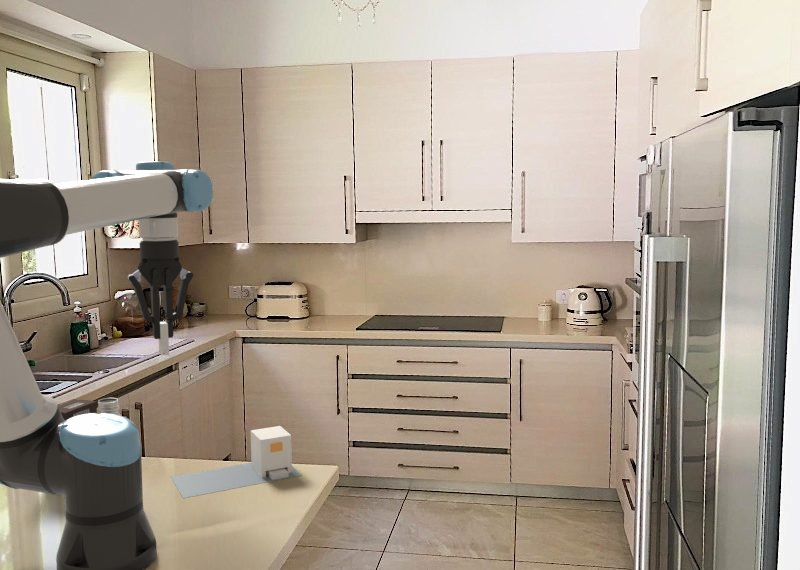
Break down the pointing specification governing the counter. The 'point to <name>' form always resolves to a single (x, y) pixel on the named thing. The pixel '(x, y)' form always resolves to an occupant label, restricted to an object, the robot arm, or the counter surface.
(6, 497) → the counter surface
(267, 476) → the panel
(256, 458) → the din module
